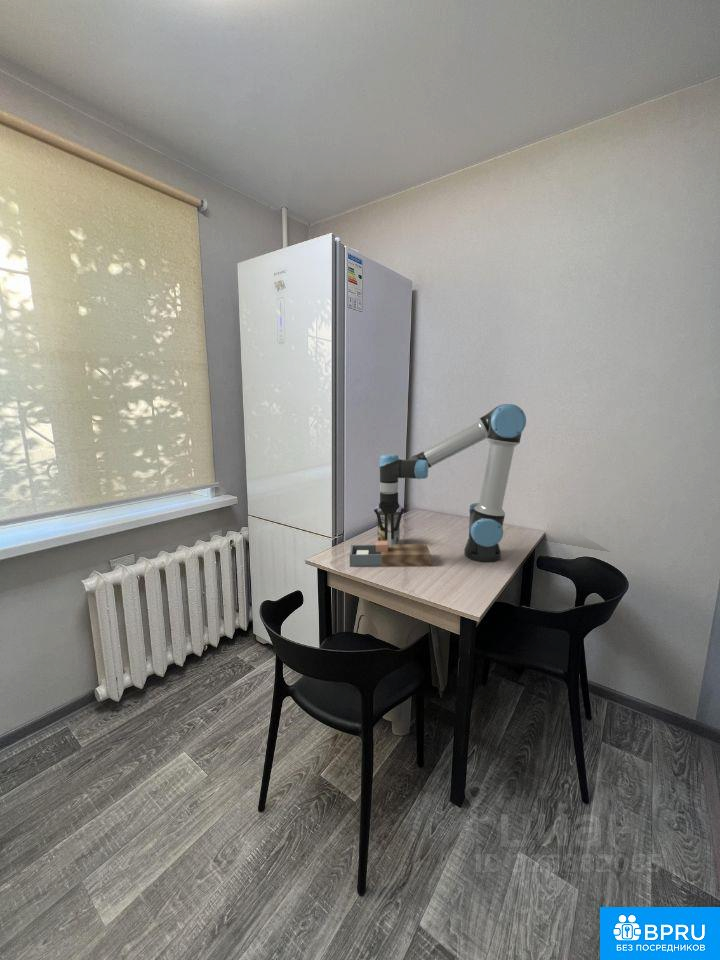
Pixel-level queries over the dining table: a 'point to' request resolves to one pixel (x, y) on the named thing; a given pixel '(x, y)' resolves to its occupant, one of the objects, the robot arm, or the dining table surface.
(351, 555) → the box
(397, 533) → the coffee box
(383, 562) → the wooden tile board
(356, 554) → the tile cream
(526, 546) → the dining table surface
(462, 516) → the dining table surface
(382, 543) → the tile terracotta
